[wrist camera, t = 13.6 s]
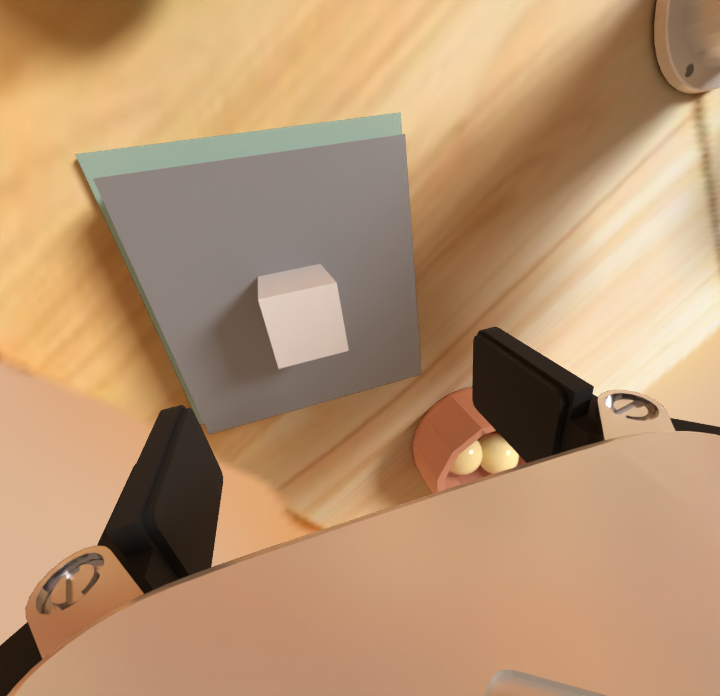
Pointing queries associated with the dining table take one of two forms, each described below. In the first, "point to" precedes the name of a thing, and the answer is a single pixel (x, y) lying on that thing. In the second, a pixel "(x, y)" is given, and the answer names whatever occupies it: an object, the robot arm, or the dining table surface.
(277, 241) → the cover
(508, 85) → the dining table surface
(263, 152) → the mat
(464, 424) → the bowl
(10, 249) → the dining table surface
